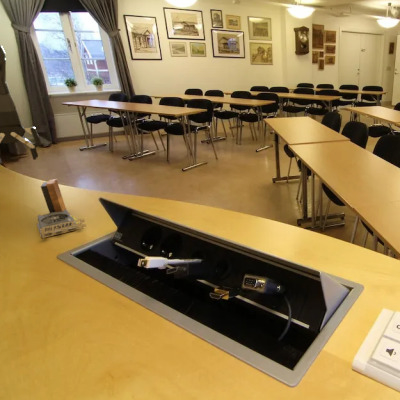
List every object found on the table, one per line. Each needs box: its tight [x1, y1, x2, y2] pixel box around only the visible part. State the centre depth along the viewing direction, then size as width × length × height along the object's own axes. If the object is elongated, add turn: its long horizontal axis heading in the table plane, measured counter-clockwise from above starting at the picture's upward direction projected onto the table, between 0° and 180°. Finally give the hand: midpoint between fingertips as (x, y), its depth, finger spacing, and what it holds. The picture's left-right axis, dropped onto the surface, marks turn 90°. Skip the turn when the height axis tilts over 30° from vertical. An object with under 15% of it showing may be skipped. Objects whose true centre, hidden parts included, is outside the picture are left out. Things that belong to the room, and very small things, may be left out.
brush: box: [40, 178, 67, 213], centre depth 118 cm, size 4×6×13 cm
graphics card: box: [36, 209, 87, 241], centre depth 111 cm, size 17×4×12 cm
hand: (17, 161), depth 104 cm, fingers open, 8 cm apart
